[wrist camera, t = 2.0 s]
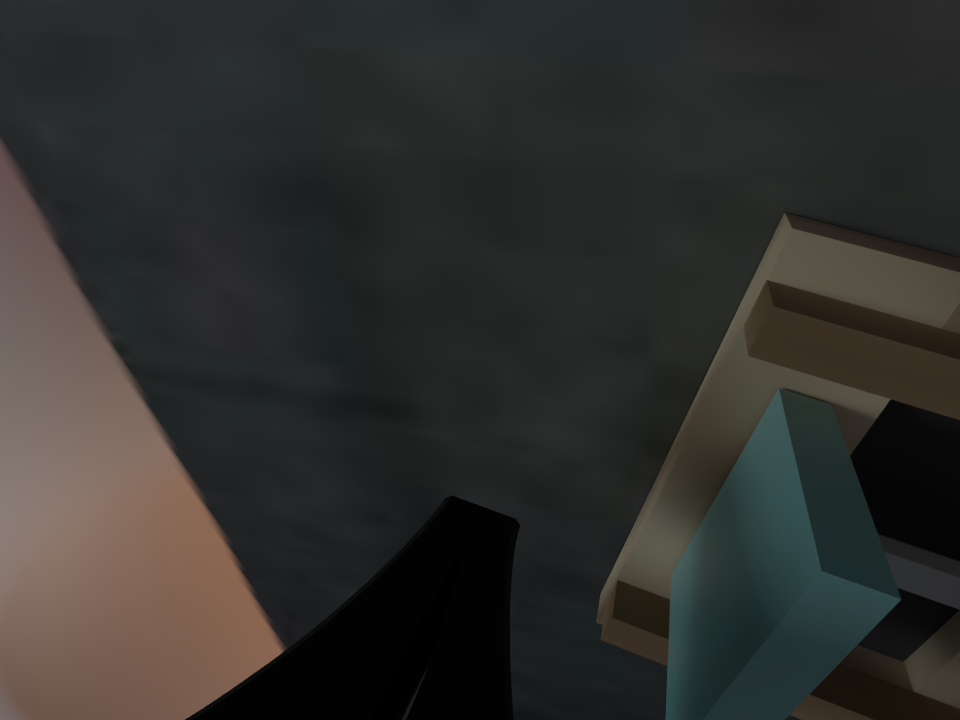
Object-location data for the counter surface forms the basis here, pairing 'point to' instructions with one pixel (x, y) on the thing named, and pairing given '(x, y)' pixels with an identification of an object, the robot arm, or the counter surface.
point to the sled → (785, 574)
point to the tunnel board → (867, 434)
